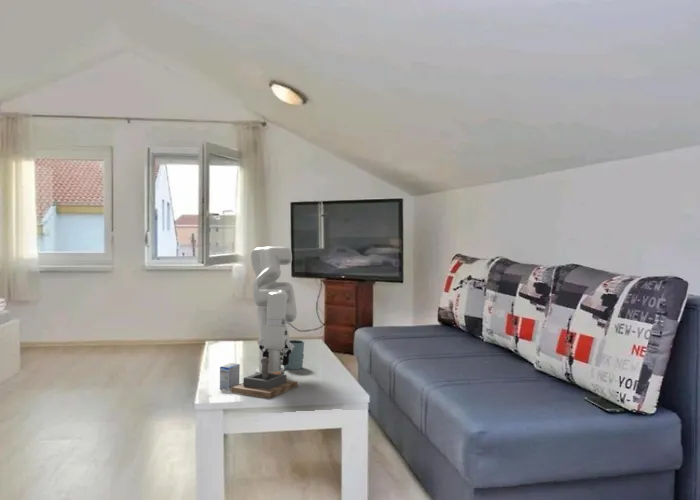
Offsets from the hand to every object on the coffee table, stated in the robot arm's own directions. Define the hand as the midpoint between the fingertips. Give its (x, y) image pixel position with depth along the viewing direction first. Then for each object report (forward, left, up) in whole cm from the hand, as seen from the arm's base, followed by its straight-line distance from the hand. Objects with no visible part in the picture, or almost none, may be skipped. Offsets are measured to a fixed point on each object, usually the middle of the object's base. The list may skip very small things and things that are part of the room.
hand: (275, 363), depth 241 cm
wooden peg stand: (+9, +1, -9) cm, 12 cm away
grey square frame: (+7, +1, -7) cm, 9 cm away
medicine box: (+12, -14, -9) cm, 20 cm away
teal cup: (-29, -10, -9) cm, 32 cm away
